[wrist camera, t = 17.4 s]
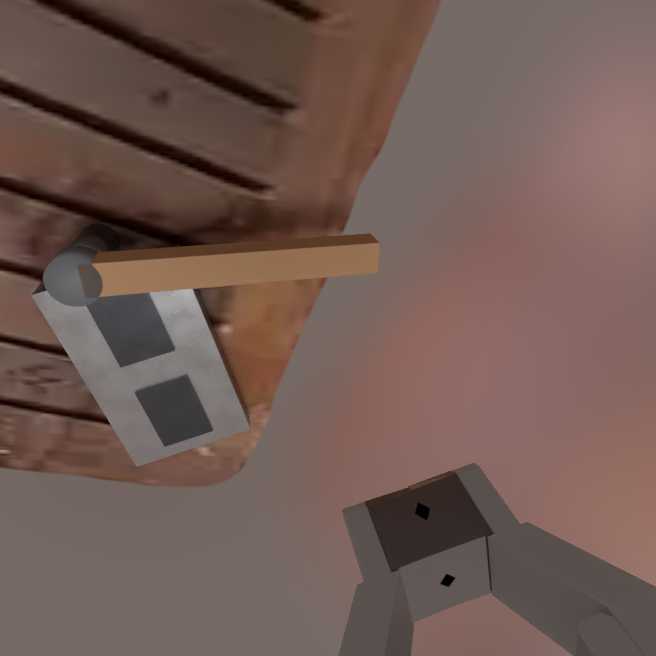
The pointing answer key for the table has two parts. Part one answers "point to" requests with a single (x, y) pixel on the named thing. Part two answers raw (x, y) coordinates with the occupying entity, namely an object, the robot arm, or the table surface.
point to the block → (149, 363)
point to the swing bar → (204, 266)
